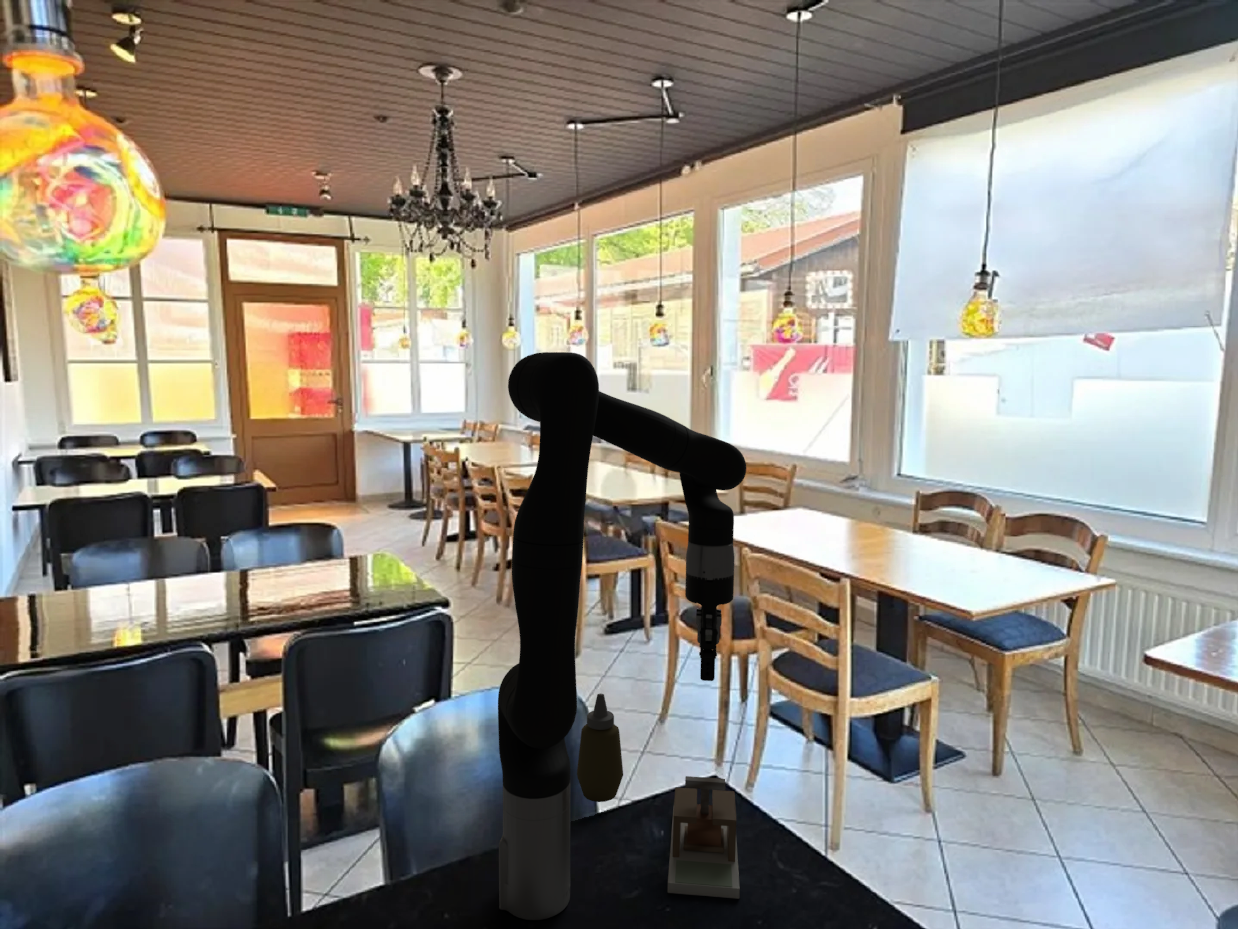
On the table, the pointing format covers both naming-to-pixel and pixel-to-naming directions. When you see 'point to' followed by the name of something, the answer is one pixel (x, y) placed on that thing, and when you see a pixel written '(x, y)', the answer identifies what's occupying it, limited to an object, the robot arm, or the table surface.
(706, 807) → the sled
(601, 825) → the table surface
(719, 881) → the tunnel
